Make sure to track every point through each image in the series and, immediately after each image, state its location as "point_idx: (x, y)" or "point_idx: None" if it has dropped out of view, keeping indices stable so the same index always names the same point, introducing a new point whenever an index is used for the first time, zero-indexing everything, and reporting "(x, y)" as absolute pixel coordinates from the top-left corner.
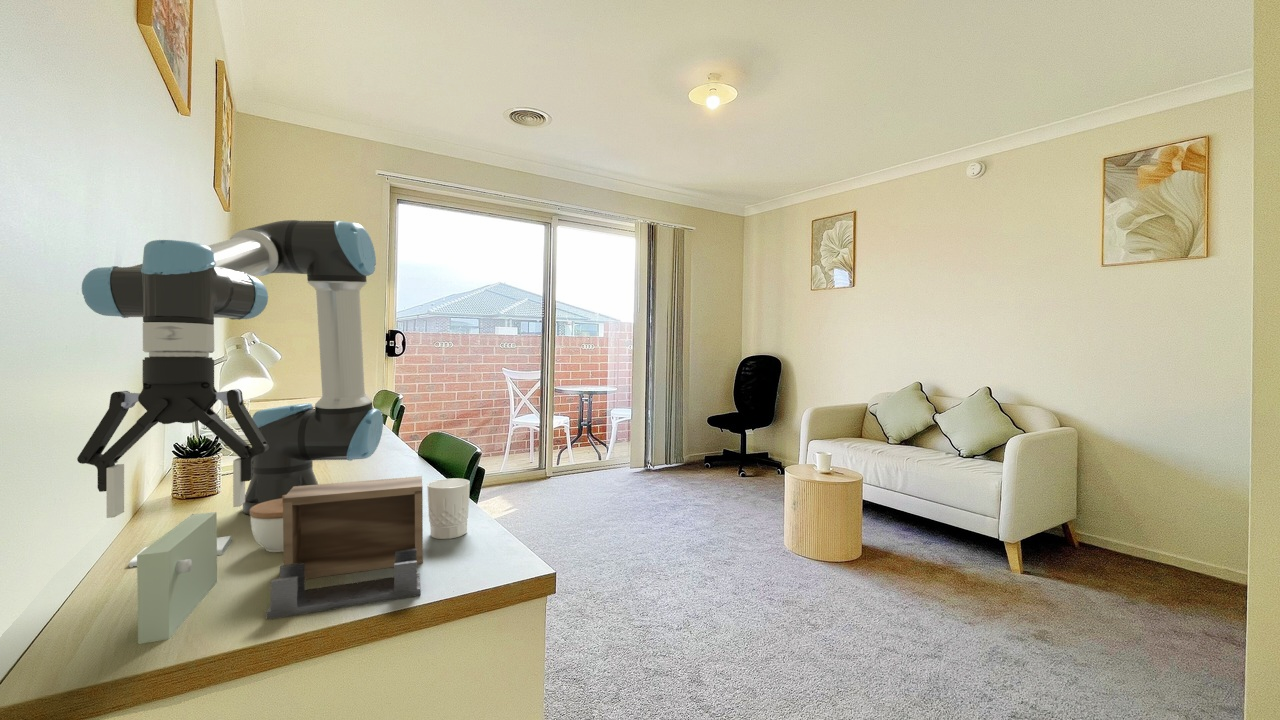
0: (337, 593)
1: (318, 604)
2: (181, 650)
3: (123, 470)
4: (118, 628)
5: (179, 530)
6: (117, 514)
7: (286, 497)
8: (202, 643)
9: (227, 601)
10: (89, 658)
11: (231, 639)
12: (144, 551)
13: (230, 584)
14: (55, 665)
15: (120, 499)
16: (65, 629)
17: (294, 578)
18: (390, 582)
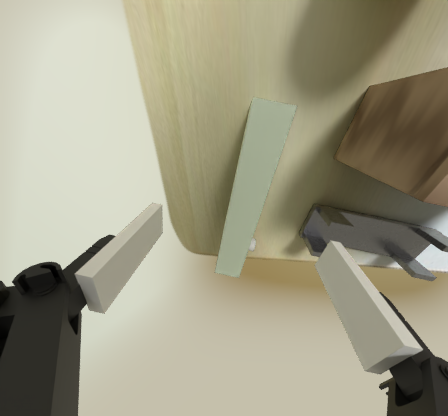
0: (356, 233)
1: None
2: None
3: (107, 264)
4: (206, 188)
5: (241, 209)
6: (161, 225)
7: (433, 197)
8: (259, 242)
9: (278, 180)
10: (203, 226)
11: (275, 246)
12: (218, 266)
13: None
14: (188, 224)
15: (150, 231)
16: (169, 167)
17: None
18: (404, 237)
